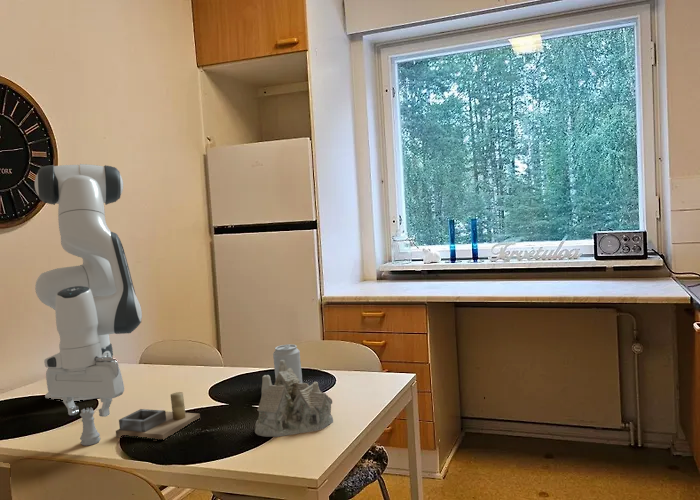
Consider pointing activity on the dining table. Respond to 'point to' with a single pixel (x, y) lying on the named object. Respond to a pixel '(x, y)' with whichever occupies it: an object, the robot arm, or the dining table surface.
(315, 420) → the ceramic cottage
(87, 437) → the rook chess piece
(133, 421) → the carrier plate
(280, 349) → the can
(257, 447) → the dining table surface
